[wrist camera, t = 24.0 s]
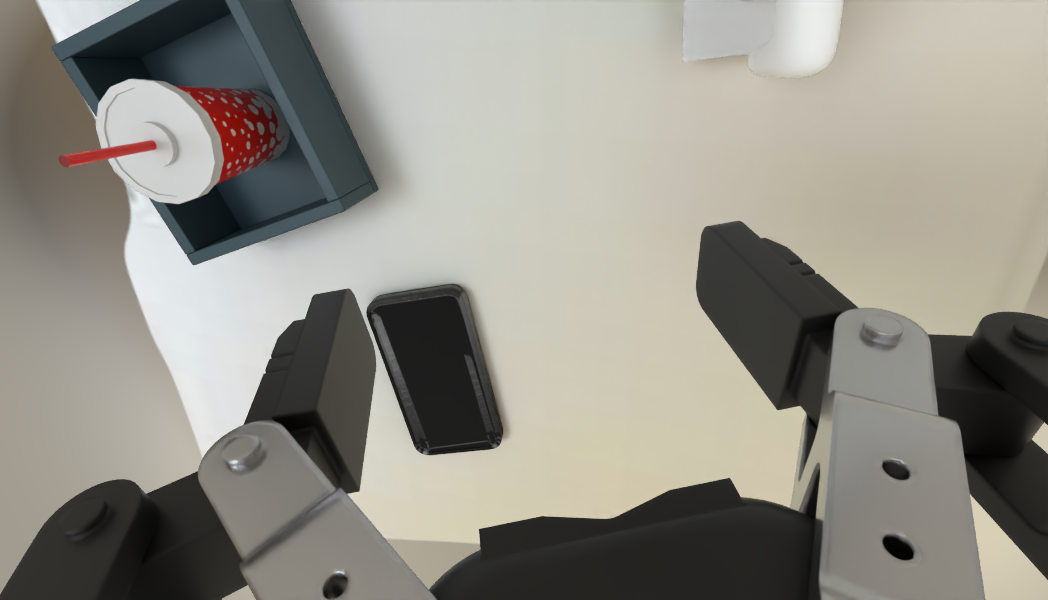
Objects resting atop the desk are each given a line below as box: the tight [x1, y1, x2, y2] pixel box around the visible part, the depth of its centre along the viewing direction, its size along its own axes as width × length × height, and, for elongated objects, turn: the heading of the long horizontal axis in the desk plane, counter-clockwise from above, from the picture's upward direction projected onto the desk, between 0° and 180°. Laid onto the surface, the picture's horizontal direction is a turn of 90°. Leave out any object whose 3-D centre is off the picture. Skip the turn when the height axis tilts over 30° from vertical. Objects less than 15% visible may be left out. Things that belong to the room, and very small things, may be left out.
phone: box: [366, 285, 503, 455], centre depth 41 cm, size 8×1×15 cm
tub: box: [51, 0, 378, 265], centre depth 32 cm, size 14×12×6 cm
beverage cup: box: [59, 79, 290, 204], centre depth 27 cm, size 6×6×14 cm
